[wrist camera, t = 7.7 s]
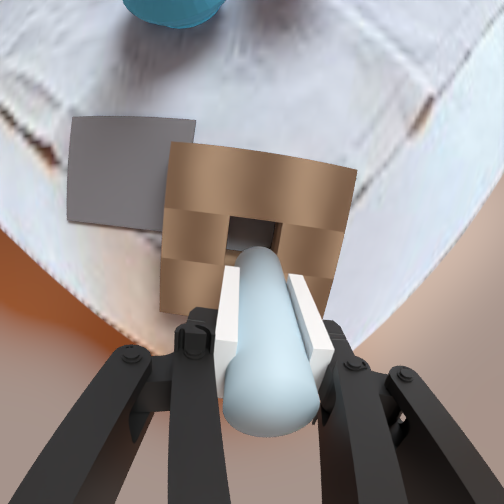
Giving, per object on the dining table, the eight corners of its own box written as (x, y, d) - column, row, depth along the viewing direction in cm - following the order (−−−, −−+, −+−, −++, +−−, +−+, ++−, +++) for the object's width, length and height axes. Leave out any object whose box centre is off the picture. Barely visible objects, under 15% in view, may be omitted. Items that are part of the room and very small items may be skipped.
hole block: (169, 291, 29) (159, 311, 25) (181, 142, 25) (171, 141, 21) (310, 307, 30) (319, 329, 26) (341, 166, 26) (357, 169, 22)
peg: (231, 286, 20) (219, 433, 9) (237, 243, 19) (227, 370, 8) (276, 291, 21) (306, 437, 9) (284, 249, 20) (331, 377, 8)
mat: (68, 219, 26) (66, 220, 26) (74, 117, 23) (72, 116, 23) (183, 232, 27) (182, 234, 27) (196, 120, 24) (195, 120, 24)
